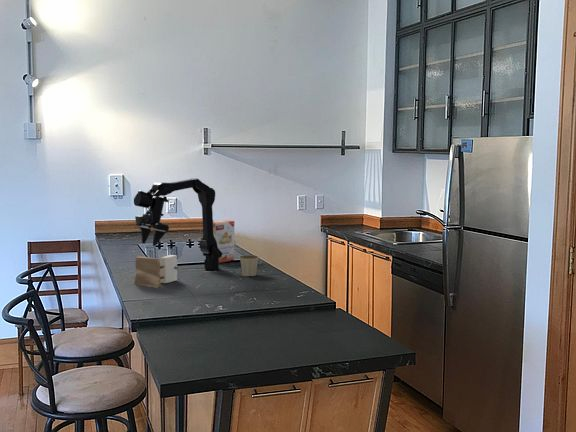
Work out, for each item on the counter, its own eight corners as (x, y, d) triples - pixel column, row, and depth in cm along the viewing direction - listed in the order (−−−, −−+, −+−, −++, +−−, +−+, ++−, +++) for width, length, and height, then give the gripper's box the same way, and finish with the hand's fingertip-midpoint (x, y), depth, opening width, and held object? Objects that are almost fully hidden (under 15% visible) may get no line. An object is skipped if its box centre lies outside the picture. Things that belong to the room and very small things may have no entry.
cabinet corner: (154, 278, 290) (153, 251, 289) (179, 281, 283) (179, 254, 282) (131, 284, 277) (131, 256, 275) (157, 287, 270) (156, 259, 269)
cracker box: (216, 264, 325) (216, 223, 322) (207, 262, 328) (207, 222, 326) (235, 260, 336) (234, 220, 334) (226, 259, 339) (226, 219, 337)
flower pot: (256, 277, 292) (256, 258, 291) (236, 276, 294) (236, 258, 293) (261, 273, 302) (261, 255, 301) (242, 272, 303) (242, 254, 302)
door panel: (171, 279, 286) (171, 254, 285) (179, 280, 284) (179, 255, 283) (160, 282, 279) (159, 257, 278) (167, 283, 277) (167, 258, 276)
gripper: (129, 205, 289) (122, 239, 288) (151, 208, 275) (143, 244, 274) (150, 209, 296) (143, 243, 295) (172, 213, 282) (165, 248, 281)
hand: (148, 244), depth 286 cm, fingers open, 9 cm apart
